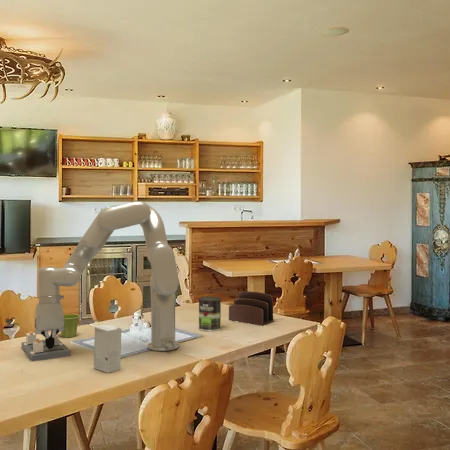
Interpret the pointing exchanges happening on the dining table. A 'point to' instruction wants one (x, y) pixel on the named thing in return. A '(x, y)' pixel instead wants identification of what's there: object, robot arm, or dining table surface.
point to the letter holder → (252, 308)
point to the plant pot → (70, 325)
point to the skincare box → (107, 348)
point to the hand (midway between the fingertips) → (50, 347)
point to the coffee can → (209, 313)
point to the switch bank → (46, 351)
